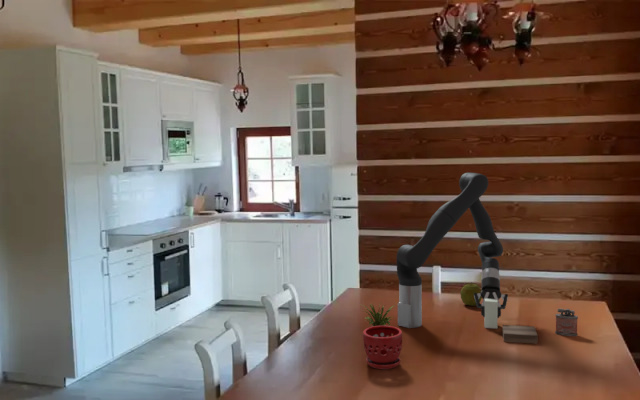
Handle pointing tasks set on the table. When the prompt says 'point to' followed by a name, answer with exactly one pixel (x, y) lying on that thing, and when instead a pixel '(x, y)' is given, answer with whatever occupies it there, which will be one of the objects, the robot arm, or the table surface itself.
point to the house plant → (378, 317)
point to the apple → (470, 294)
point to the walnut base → (519, 334)
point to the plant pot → (383, 346)
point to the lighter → (566, 323)
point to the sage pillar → (491, 313)
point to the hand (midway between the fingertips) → (491, 316)
